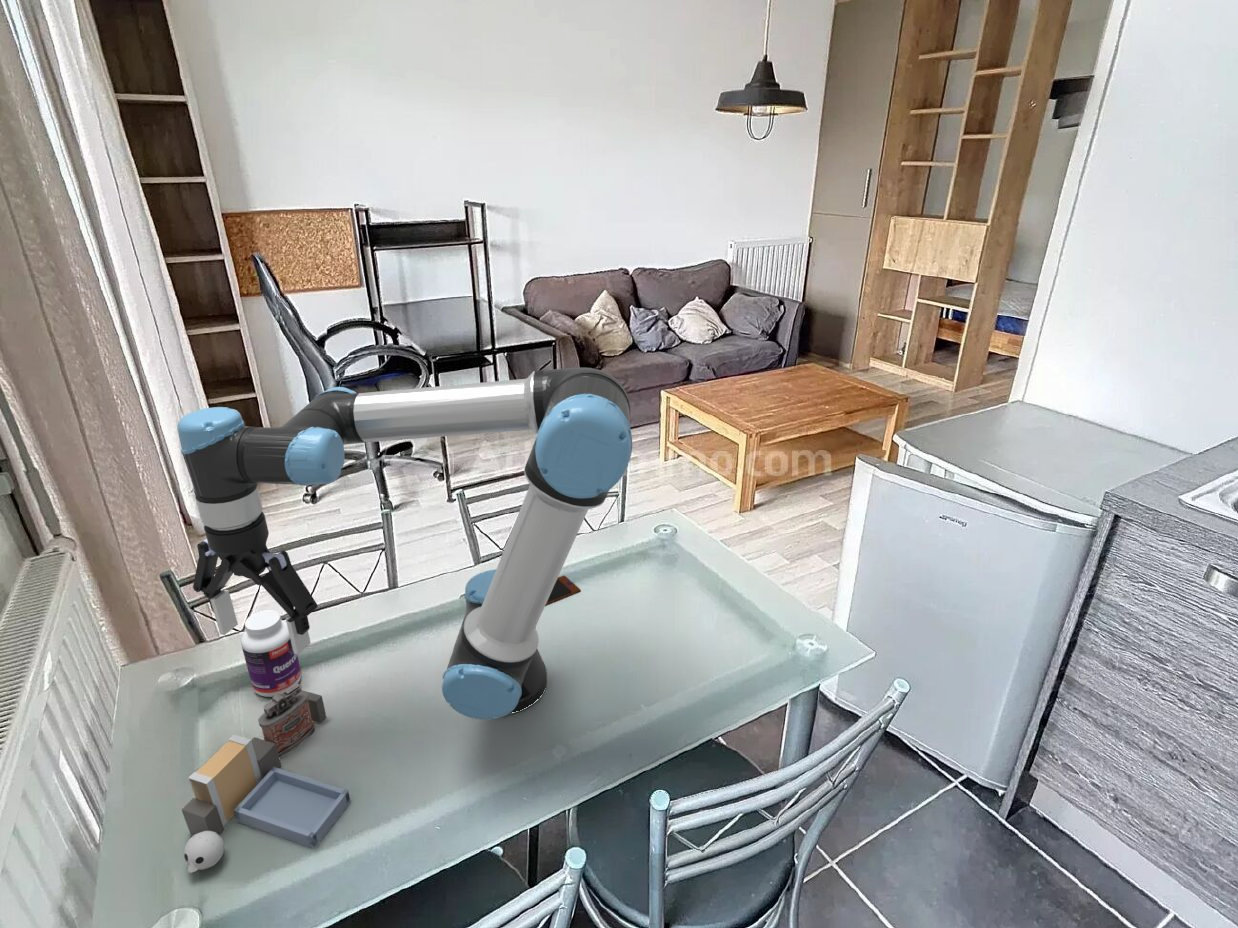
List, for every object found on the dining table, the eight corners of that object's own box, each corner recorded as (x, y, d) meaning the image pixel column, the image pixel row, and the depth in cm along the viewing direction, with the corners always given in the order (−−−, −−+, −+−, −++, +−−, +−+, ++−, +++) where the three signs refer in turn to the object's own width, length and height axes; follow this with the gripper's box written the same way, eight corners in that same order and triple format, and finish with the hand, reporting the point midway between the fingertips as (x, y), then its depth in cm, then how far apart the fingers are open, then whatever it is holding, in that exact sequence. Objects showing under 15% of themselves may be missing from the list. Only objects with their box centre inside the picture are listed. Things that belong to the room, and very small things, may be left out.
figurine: (177, 877, 91) (167, 853, 89) (203, 843, 95) (195, 819, 93) (210, 884, 90) (201, 860, 88) (235, 849, 95) (227, 825, 92)
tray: (350, 801, 102) (348, 790, 101) (314, 848, 95) (311, 837, 94) (276, 777, 105) (273, 766, 104) (237, 821, 98) (233, 810, 97)
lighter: (275, 762, 108) (263, 716, 103) (262, 753, 109) (250, 706, 105) (319, 729, 114) (309, 684, 110) (307, 721, 116) (296, 676, 111)
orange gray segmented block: (326, 717, 116) (317, 676, 112) (212, 841, 96) (197, 796, 92) (306, 711, 117) (297, 670, 113) (190, 833, 97) (173, 788, 93)
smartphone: (581, 589, 151) (522, 613, 142) (581, 592, 151) (522, 616, 143) (564, 574, 156) (506, 596, 147) (564, 577, 156) (506, 599, 148)
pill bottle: (283, 703, 119) (267, 638, 113) (243, 695, 120) (225, 631, 114) (311, 671, 126) (298, 608, 120) (273, 664, 127) (257, 602, 121)
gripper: (327, 519, 94) (350, 640, 103) (186, 491, 101) (219, 607, 110) (288, 547, 88) (317, 673, 97) (140, 515, 94) (179, 636, 103)
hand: (265, 638), depth 103 cm, fingers open, 13 cm apart
